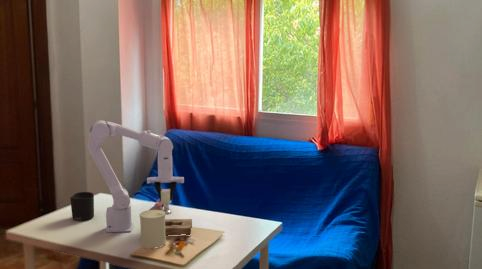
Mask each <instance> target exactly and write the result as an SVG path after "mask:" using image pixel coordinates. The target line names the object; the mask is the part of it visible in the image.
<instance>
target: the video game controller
mask: <svg viewBox="0 0 482 269" xmlns="http://www.w3.org/2000/svg"><path fill="white" fill-rule="evenodd" d="M148 210H161V211H162V210H164V204H161V201H160V199H159V198H158V199H157V201H156V202H155V204H154V205H153V206H152V207H151V208H149V209H148Z"/></svg>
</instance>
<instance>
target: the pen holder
mask: <svg viewBox="0 0 482 269" xmlns="http://www.w3.org/2000/svg"><path fill="white" fill-rule="evenodd" d="M69 198H70V207H71V208H70V210H71V218H72V220H73V221H74V222H75V221H76V222H86V221H90V220H92V219H94V217H95V196H94V193H93V192H91V191H81V192H76V193H74V194H73V195H71V196H70V197H69Z"/></svg>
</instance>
